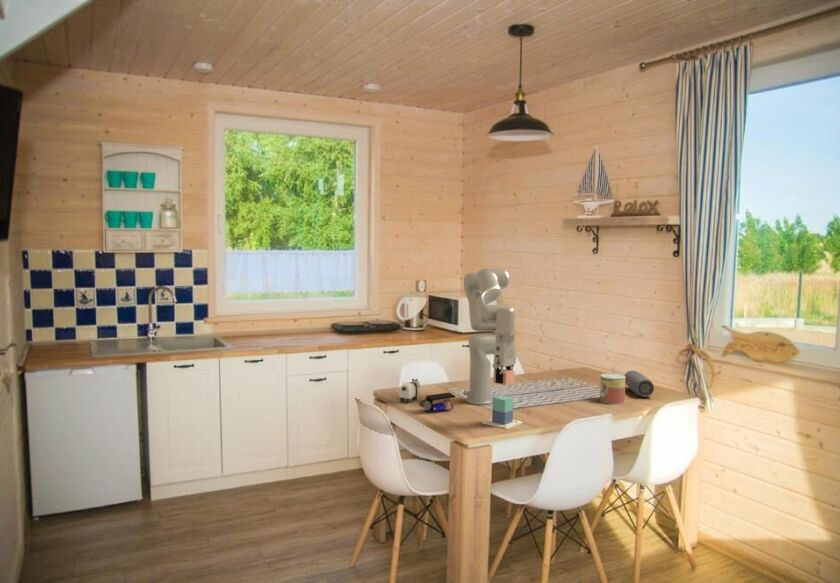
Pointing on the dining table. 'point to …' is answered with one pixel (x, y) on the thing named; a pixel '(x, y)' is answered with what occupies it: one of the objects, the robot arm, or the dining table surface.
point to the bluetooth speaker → (639, 383)
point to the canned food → (612, 389)
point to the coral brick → (506, 377)
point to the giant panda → (409, 391)
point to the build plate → (502, 420)
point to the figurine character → (429, 404)
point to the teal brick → (502, 404)
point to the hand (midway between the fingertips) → (503, 381)
